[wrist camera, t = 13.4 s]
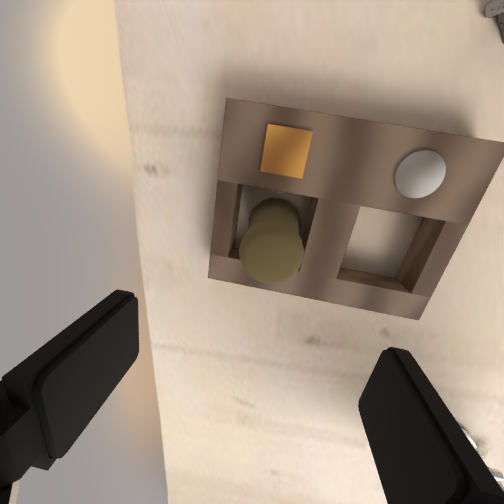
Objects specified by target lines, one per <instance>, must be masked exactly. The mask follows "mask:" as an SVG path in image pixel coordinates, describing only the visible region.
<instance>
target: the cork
mask: <svg viewBox="0 0 504 504" xmlns="http://www.w3.org/2000/svg"><path fill="white" fill-rule="evenodd" d="M300 223H301V221H300V217H299V213H298V212H297V210H296V208H295V207H294V206H293V205H292V204H290V203H289V202H288V201H285V200H283V199H278V198H271V199H267V200H264V201H262V202H261V203H259V204H258V205H257V206H256V207H255V208H254V210H253V211H252V213H251V216H250V219H249V229H248V231H247V232H246V233H245V234H244V236H243V238H242V240H241V243H240V246H239V257H240V260H241V263H242V266H243V268H244V269H245V271H246V272H247V273H248V275H250V276H251V277H253V278H254V279H255V280H257V281H260V282H263V283H270V284H276V283H280V282H284V281H286V280H288V279H290V278H291V277H292V276H293V275H294V274H295V273H296V272H297V271H298V270H299V268H300V266H301V264H302V261H303V256H304V248H303V244H302V240H301V238H300V236H299V231H300Z"/></svg>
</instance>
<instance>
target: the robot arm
mask: <svg viewBox="0 0 504 504" xmlns="http://www.w3.org/2000/svg"><path fill="white" fill-rule="evenodd" d="M138 353H139V327H138V299H137V298H136V297H135V296H134V293H132V292H128V291H123V290H115V291H114V292H113V293H111V294H110V295H109V296H107V297H106V298H105V299H103V300H102V301H101V302H99V303H98V304H97V305H96V306H94V307H93V308H92V309H90V310H89V311H88V312H86V313H85V314H84V315H83V316H81V317H80V318H79V319H77V320H76V321H75V322H73V323H72V324H71V325H69V326H68V327H67V328H66V329H64V330H63V331H62V332H60V333H59V334H58V335H56V336H55V337H54V338H52V339H51V340H50V341H48V342H47V343H46V344H45V345H43V346H42V347H41V348H39V349H38V350H37V351H36V352H34V353H33V354H32V355H30V356H29V357H28V358H26V359H25V360H24V361H22V362H21V363H20V364H18V365H17V366H16V367H14V368H13V369H12V370H11V371H9V372H8V373H7V374H5V375H4V376H3V377H2V380H1V381H0V504H16V501H17V495H18V489H19V483H20V478H21V477H22V476H23V475H24V474H25V472H26V471H27V470H28V469H29V468H30V467H31V466H32V467H37V468H40V469H44V470H49V468H50V467H51V466H52V464H53V463H54V462H55V460H56V459H57V458H62V457H63V456H64V455H65V454H66V453H67V452H68V450H69V449H70V448H71V446H72V445H73V444H74V442H75V441H76V440H77V438H78V437H79V436H80V434H81V433H82V432H83V430H84V429H85V428H86V426H87V425H88V424H89V422H90V421H91V419H92V418H93V417H94V415H95V414H96V413H97V411H98V410H99V409H100V407H101V406H102V405H103V403H104V402H105V401H106V399H107V398H108V397H109V395H110V394H111V393H112V391H113V390H114V388H115V387H116V386H117V384H118V383H119V382H120V380H121V379H122V378H123V376H124V375H125V374H126V372H127V371H128V370H129V368H130V367H131V366H132V364H133V363H134V362H135V360H136V358H137V356H138ZM358 407H359V412H360V416H361V419H362V422H363V425H364V429H365V432H366V435H367V438H368V441H369V445H370V448H371V451H372V454H373V458H374V461H375V464H376V467H377V471H378V474H379V477H380V480H381V483H382V487H383V490H384V493H385V496H386V500H387V503H388V504H504V487H503V485H502V483H501V482H503V480H504V478H503V475H502V473H501V472H500V471H499V470H497V469H494V468H489V467H487V466H486V464H485V463H484V461H483V460H482V458H481V457H480V455H479V454H478V452H477V446H476V444H475V442H474V440H473V439H472V437H471V436H470V434H469V433H468V432H467V431H466V430H464V429H463V428H461V427H460V426H459V424H458V423H457V421H456V420H455V418H454V417H453V415H452V414H451V412H450V411H449V409H448V408H447V406H446V405H445V404H444V402H443V401H442V399H441V398H440V396H439V395H438V393H437V392H436V390H435V389H434V387H433V386H432V384H431V383H430V381H429V380H428V378H427V377H426V375H425V374H424V372H423V371H422V369H421V368H420V366H419V365H418V363H417V362H416V360H415V359H414V357H413V356H412V355H411V353H410V352H409V351H407V350H403V349H399V348H394V347H389V348H388V349H387V350H383V351H382V353H381V355H380V357H379V359H378V361H377V363H376V365H375V368H374V370H373V372H372V374H371V376H370V378H369V380H368V382H367V384H366V386H365V389H364V391H363V393H362V395H361V397H360V399H359V404H358Z"/></svg>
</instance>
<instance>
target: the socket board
mask: <svg viewBox="0 0 504 504" xmlns="http://www.w3.org/2000/svg"><path fill="white" fill-rule="evenodd" d="M503 157H504V142H498V141H492V140H485V139H479V138H473V137H467V136H461V135H454V134H448V133H442V132H436V131H429V130H423V129H417V128H411V127H405V126H398V125H392V124H386V123H380V122H373V121H367V120H361V119H355V118H349V117H342V116H336V115H330V114H324V113H318V112H311V111H305V110H299V109H293V108H286V107H280V106H274V105H268V104H262V103H255V102H249V101H243V100H237V99H230V98H226V105H225V115H224V124H223V134H222V144H221V154H220V164H219V173H218V183H217V193H216V203H215V213H214V223H213V232H212V242H211V252H210V262H209V272H208V278H211V279H216V280H221V281H226V282H231V283H236V284H241V285H246V286H251V287H256V288H261V289H266V290H271V291H276V292H281V293H286V294H291V295H295V296H300V297H305V298H310V299H315V300H320V301H325V302H330V303H335V304H340V305H345V306H350V307H355V308H360V309H365V310H370V311H375V312H380V313H385V314H390V315H395V316H400V317H405V318H410V319H415V320H419V319H420V317H421V315H422V313H423V311H424V309H425V307H426V305H427V303H428V301H429V300H430V298H431V296H432V294H433V292H434V290H435V288H436V286H437V284H438V282H439V280H440V278H441V276H442V275H443V273H444V271H445V269H446V267H447V265H448V263H449V261H450V259H451V257H452V255H453V253H454V251H455V249H456V248H457V246H458V244H459V242H460V240H461V238H462V236H463V234H464V232H465V230H466V228H467V226H468V224H469V222H470V221H471V219H472V217H473V215H474V213H475V211H476V209H477V207H478V205H479V203H480V201H481V199H482V197H483V195H484V194H485V192H486V190H487V188H488V186H489V184H490V182H491V180H492V178H493V176H494V174H495V172H496V170H497V168H498V167H499V165H500V163H501V161H502V159H503ZM242 185H248V186H254V187H259V188H265V189H270V190H276V191H282V192H287V193H293V194H298V195H304V196H309V197H313V200H312V204H311V208H310V212H309V216H308V220H307V224H306V228H305V232H304V236H303V240H302V244H303V248H304V256H303V261H302V264H301V266H300V268H299V270H298V271H297V272H296V273H295V274H294V275H293V276H292V277H291V278H290V279H288V280H286V281H284V282H280V283H276V284H270V283H263V282H260V281H257V280H255V279H254V278H253V277H251V276H250V275H248V273H247V272H246V271H245V269H244V268H243V266H242V263H241V260H240V257H239V248H236V247H234V242H235V235H236V228H237V221H238V214H239V207H240V199H241V192H242ZM360 206H365V207H371V208H376V209H382V210H387V211H393V212H399V213H404V214H410V215H415V216H421V217H423V220H422V222H421V224H420V226H419V229H418V231H417V233H416V236H415V238H414V240H413V242H412V245H411V247H410V249H409V251H408V254H407V256H406V258H405V261H404V263H403V265H402V267H401V270H400V272H399V274H398V276H397V279H396V278H391V277H386V276H381V275H376V274H371V273H365V272H360V271H355V270H350V269H345V268H340V266H341V263H342V260H343V257H344V254H345V251H346V248H347V245H348V242H349V239H350V236H351V233H352V230H353V227H354V224H355V221H356V218H357V215H358V212H359V209H360Z"/></svg>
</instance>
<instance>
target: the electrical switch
mask: <svg viewBox="0 0 504 504" xmlns="http://www.w3.org/2000/svg"><path fill="white" fill-rule="evenodd" d="M496 15H498V24H499V27H500V29H501V33H502V41H503V43H504V0H492V1H491V2H490V3H489V4H487V5H486V7H485V18H491V17H494V16H496Z"/></svg>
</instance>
